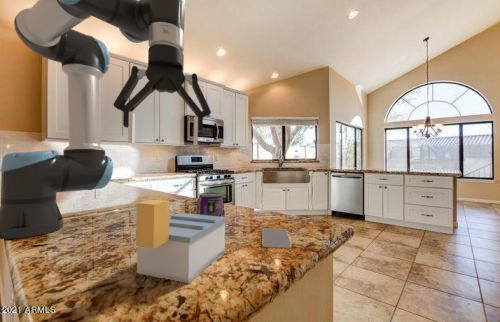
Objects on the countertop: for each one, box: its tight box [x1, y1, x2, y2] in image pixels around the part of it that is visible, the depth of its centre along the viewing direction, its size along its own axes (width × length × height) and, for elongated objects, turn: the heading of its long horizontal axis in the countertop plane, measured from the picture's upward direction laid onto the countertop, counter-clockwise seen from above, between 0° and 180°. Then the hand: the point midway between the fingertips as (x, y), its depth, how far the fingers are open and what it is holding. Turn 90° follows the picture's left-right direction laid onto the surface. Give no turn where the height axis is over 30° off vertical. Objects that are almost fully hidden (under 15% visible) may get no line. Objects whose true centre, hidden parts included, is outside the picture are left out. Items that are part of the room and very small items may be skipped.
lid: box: [135, 199, 228, 249], centre depth 47 cm, size 12×20×8 cm, turn 162°
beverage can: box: [196, 192, 224, 217], centre depth 64 cm, size 7×7×12 cm
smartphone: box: [261, 227, 292, 249], centre depth 65 cm, size 7×1×15 cm
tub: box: [136, 222, 226, 284], centre depth 49 cm, size 11×15×7 cm
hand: (164, 144), depth 52 cm, fingers open, 13 cm apart
